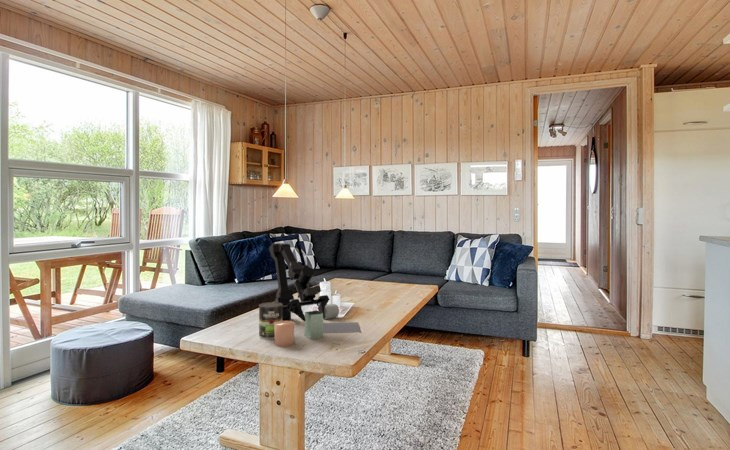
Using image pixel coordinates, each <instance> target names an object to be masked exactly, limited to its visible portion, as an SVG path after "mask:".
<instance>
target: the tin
mask: <svg viewBox="0 0 730 450" xmlns="http://www.w3.org/2000/svg"><path fill="white" fill-rule="evenodd" d="M304 316H305V319H306V321H304V337H305V338H307V339H309V340H316V339H319V338H324V333H323V323H324V320H323V313H321V312H319V310H318V309H317V310H316V309H315V310H309V311H304Z"/></svg>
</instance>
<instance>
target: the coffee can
mask: <svg viewBox="0 0 730 450" xmlns="http://www.w3.org/2000/svg"><path fill="white" fill-rule="evenodd" d="M282 306H283V304H282V303H279V302H274V301H268V302H263V303H259V305H258V312H259V313H258V322H259V323H258V331H259V332H258V337H259V338H260V339H275V332H274V324H275V323H276V322H278V321H282Z"/></svg>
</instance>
